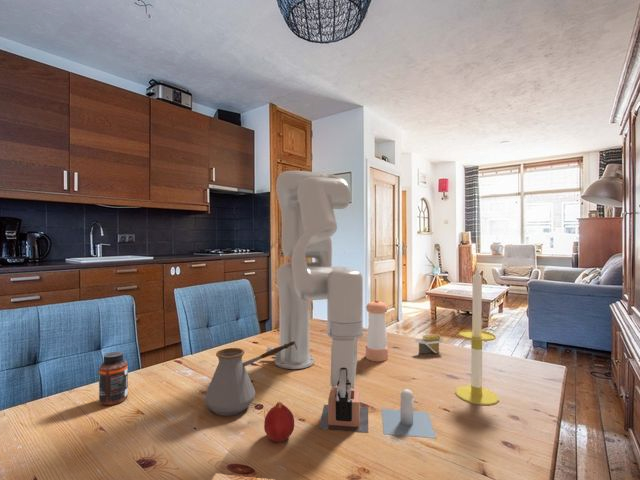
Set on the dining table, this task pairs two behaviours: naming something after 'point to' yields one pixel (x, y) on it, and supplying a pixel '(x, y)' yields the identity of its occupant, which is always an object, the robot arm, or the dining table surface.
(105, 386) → the supplement bottle
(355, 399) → the collar
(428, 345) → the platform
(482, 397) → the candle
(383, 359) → the salt shaker
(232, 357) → the coffee pot
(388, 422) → the blue peg base
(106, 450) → the dining table surface
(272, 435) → the onion
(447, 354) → the dining table surface
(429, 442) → the dining table surface
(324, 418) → the stand
